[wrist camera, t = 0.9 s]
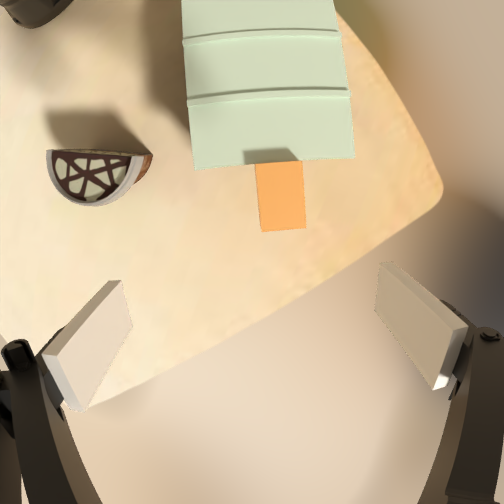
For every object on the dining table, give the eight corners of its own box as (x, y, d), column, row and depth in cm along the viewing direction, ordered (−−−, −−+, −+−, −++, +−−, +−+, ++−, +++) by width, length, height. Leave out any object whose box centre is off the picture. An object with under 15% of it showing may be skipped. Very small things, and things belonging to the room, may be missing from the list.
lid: (183, 1, 22) (178, -12, 19) (326, -6, 22) (333, -18, 19) (204, 230, 29) (200, 238, 27) (352, 216, 29) (362, 223, 26)
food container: (79, 190, 37) (39, 203, 27) (84, 148, 35) (43, 149, 26) (157, 201, 38) (130, 217, 28) (163, 155, 36) (137, 156, 27)
